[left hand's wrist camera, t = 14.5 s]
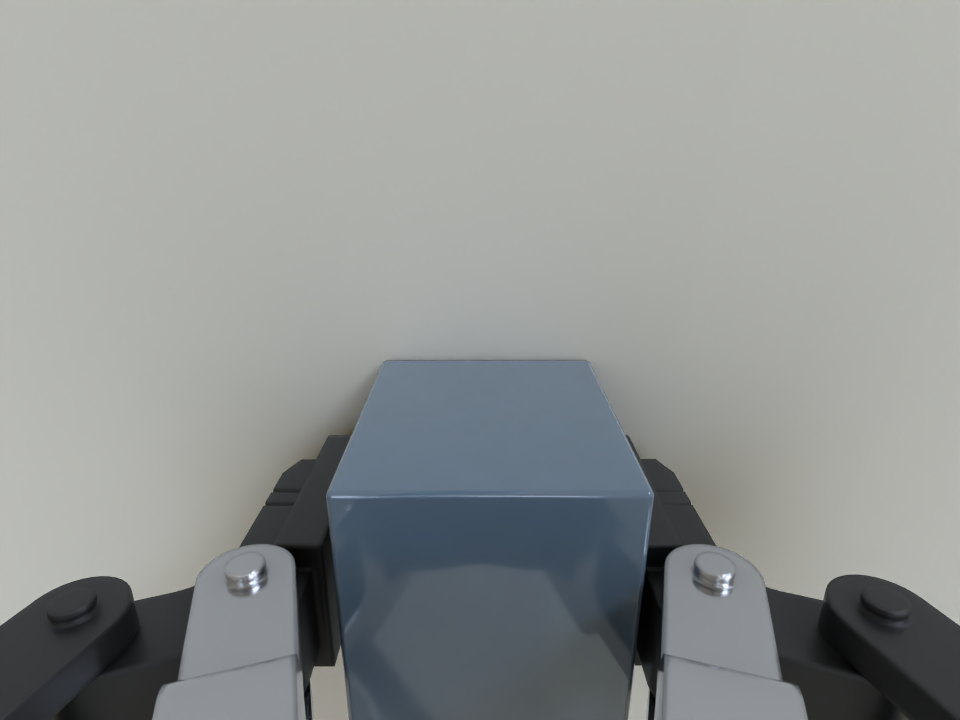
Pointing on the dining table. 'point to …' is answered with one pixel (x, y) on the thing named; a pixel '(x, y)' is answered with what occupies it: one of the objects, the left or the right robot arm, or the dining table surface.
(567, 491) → the block
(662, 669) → the left robot arm
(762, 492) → the dining table surface
